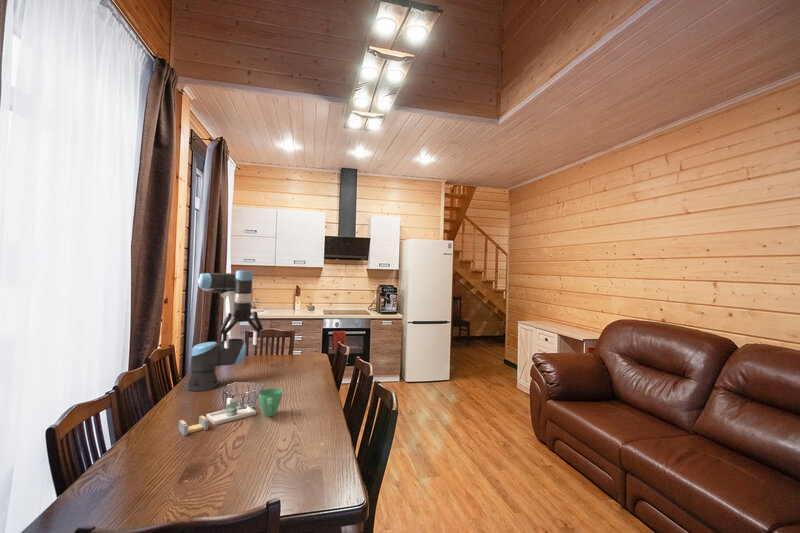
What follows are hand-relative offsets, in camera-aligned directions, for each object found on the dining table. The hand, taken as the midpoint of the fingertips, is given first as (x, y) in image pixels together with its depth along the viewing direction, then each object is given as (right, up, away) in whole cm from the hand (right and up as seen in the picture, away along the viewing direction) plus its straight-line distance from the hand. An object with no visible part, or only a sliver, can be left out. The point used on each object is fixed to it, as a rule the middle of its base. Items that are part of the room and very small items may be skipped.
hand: (240, 346), depth 173 cm
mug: (+20, -27, -17) cm, 38 cm away
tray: (+4, -26, -18) cm, 32 cm away
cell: (+4, -26, -18) cm, 31 cm away
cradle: (-5, -26, -32) cm, 41 cm away
